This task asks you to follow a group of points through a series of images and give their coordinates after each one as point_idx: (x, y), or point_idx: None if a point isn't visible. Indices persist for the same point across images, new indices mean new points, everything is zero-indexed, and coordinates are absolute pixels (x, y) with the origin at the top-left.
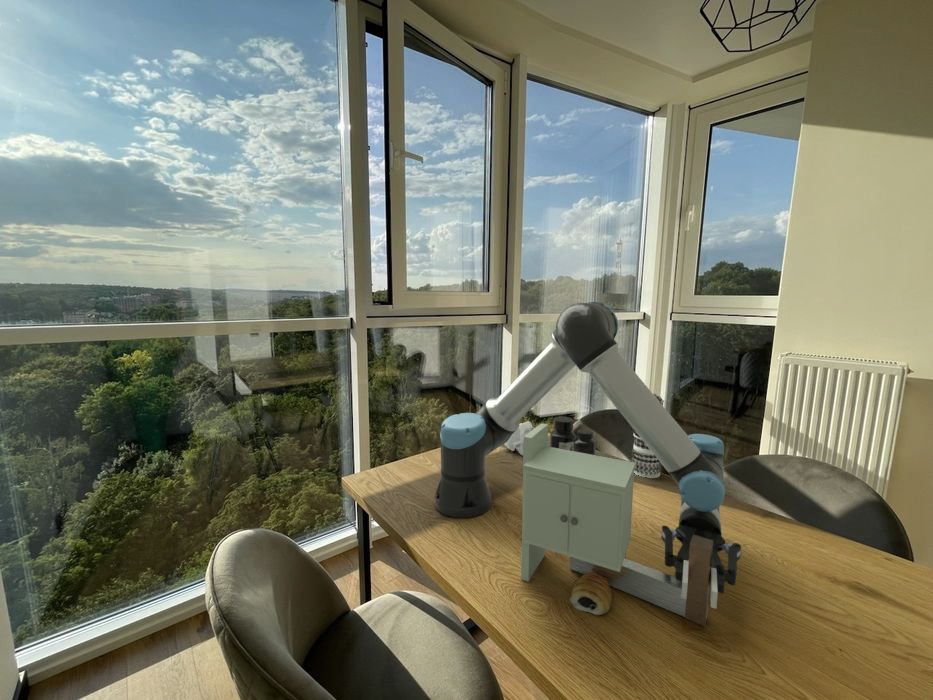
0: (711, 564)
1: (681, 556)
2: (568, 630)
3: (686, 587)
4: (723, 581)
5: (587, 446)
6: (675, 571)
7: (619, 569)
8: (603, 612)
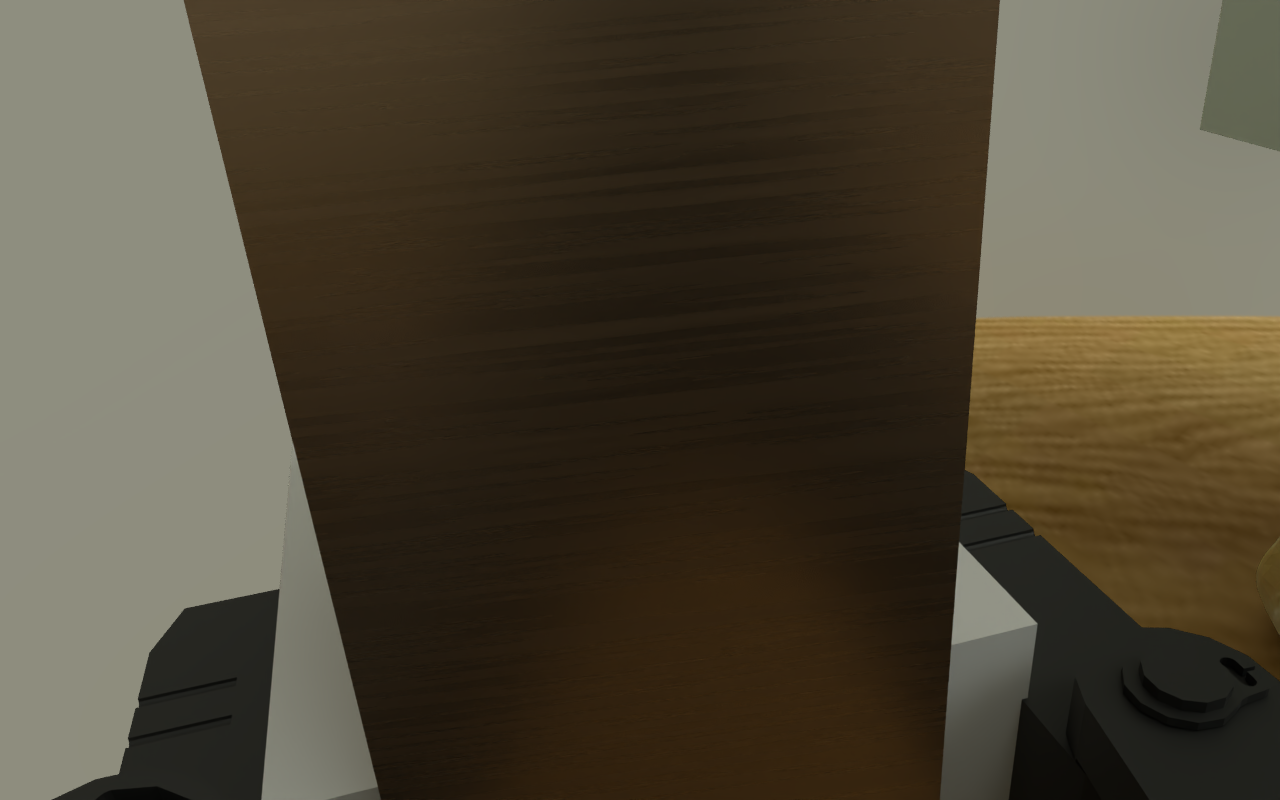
0: (381, 771)
1: (1177, 690)
2: (1229, 455)
3: None
4: (160, 711)
5: None
6: None
7: (1208, 98)
8: (1256, 580)
